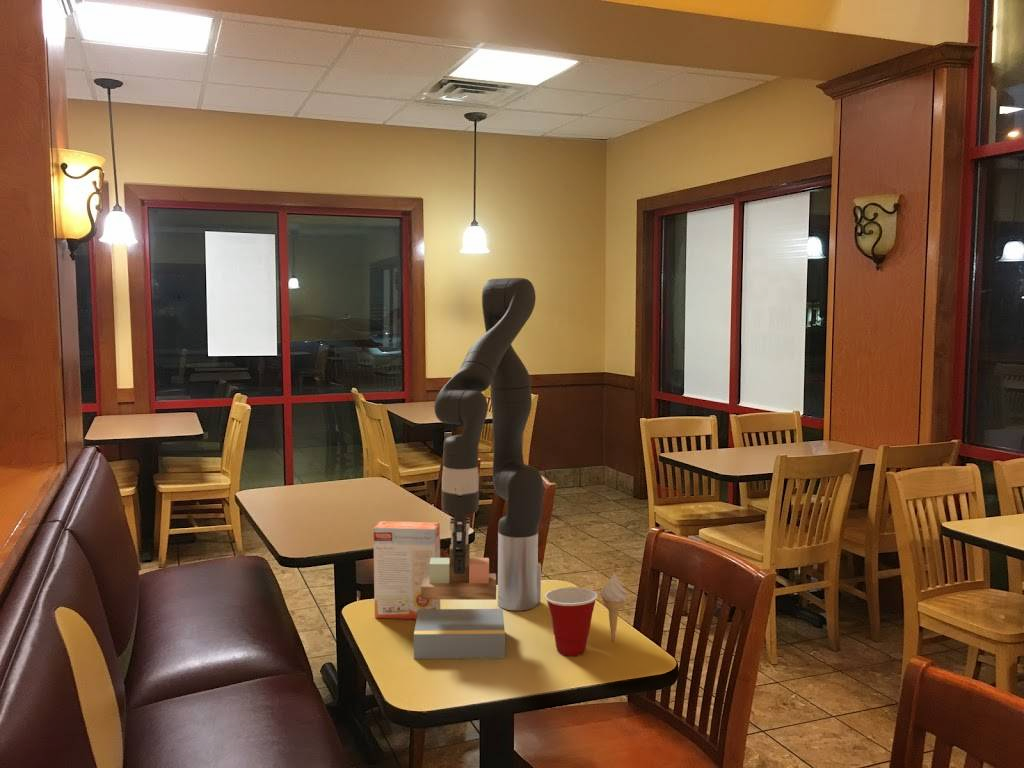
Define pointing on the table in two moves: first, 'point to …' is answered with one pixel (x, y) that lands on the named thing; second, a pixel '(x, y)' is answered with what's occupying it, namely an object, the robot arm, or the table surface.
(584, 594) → the plastic cup
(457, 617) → the dock
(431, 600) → the cracker box
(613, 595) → the ice cream cone
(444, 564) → the pale green cube
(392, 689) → the table surface
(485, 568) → the block
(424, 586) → the pallet
